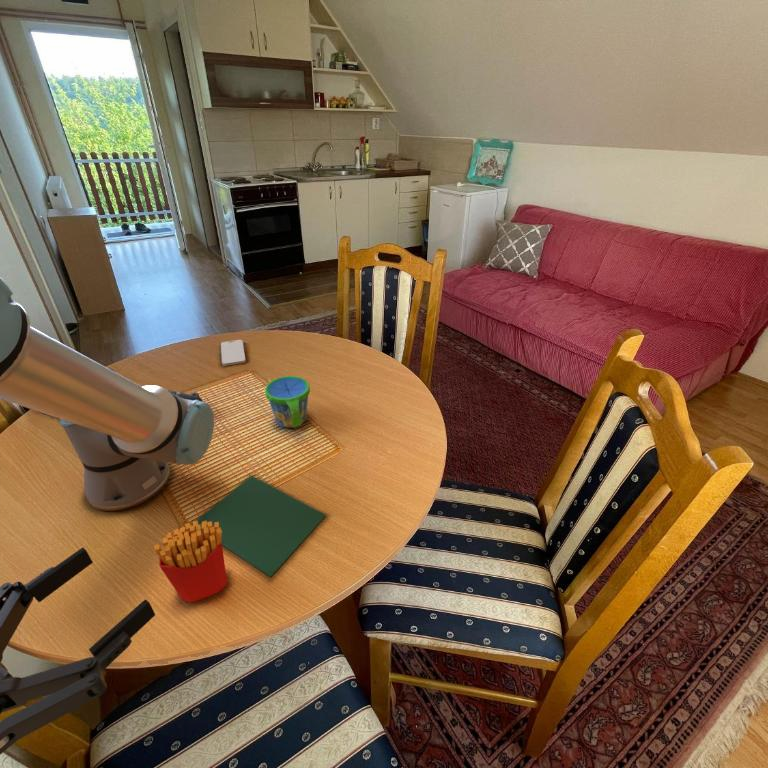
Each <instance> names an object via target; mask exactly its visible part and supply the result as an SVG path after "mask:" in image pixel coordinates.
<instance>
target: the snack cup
mask: <svg viewBox="0 0 768 768" xmlns="http://www.w3.org/2000/svg"><path fill="white" fill-rule="evenodd" d="M310 393H311V388H310V383H309V381H307V380H306V379H305V378H303V377H301V376H297V375H286V376H279V377H277V378H275V379H272V380H271V381H270V382H268V383H267V385H266V386H265V388H264V394H265V397H266V398H267V400H268V402H269V405H270V408H271V410H272V414H273V416H274V419H275V422H276V424H278V425H279V426H280V427H281V428H286V429H291V428H292V429H295V428H297V427H300V426H301V425H302V424H304V423H305V422H306V420H307V415H308V403H309V395H310Z"/></svg>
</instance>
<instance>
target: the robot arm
mask: <svg viewBox="0 0 768 768" xmlns="http://www.w3.org/2000/svg"><path fill="white" fill-rule="evenodd" d="M13 294H14V292H13V291H12V290H11V288H10V287H9V285H8V284H7V283H6V281H5V280H4V279H3V278H2V277H1V276H0V400H2V401H6V402H8V403H11V404H15V405H18V406H20V407H24V408H25V409H30V410H32V411H35V412H38V413H42V414H45V415H47V416H50V417H53V418H56V419H59V422H60V426H61V427H63V429H64V432H65V433H66V435H67V437H68V439H69V441H70V443H71V445H72V446H73V449H74V451H75V452H76V455H77V457H78V458H79V460H80V462H81V464H82V466H83V480H84V481H83V483H84V484H83V489H84V495H85V497H86V499H87V501H88V503H89V505H90V506H91V507H92V508H94V509H96V510H99V511H103V512H119V511H124V510H127V509H128V510H129V509H132V508H134V507H136V506H140V505H142V504H143V503H146V502H147V501H149V500H151V499H152V498H154V497H155V496H156V495H158V494H159V493H160V492H161V491H162V490H163V489H164V488H165V486H166V485H167V483H168V482H169V479H170V476H171V467H170V465H169V464H176V465H177V466H183V465H184V466H191V465H192V466H193V465H195V464H197V463H198V462H199V461H201V460H202V459H203V457H204V455H206V453H207V452H208V449H209V447H210V444H211V442H212V438H213V436H214V429H215V415H214V411H213V408H212V407H211V405H210V404H208V403H207V402H205V401H202V402H201V401H199V400H194V401H193V400H187V399H183V398H181V397H179V396H177V395H175V394H173V393H172V392H170V391H168V390H169V389H167V388H165V387H162V386H159V385H151V384H150V385H143V386H141V385H140V384H138V383H136V382H134V381H132V380H130V379H129V378H127V377H125V376H123V375H121V374H120V373H118V372H116V371H115V370H114V371H115V372H114V371H112V370H113V369H112V370H110V369H111V368H110V369H108V368H109V367H106V366H104V365H103V364H101V363H99V362H98V361H95V360H94V359H91V358H90V357H88V356H87V355H84V354H83V353H80V352H79V351H76V350H75V349H73V348H71V347H70V346H68V345H66V344H64V343H62V342H60V341H58V340H57V339H55V338H53V337H51V336H49V335H47V334H45V333H44V332H41V331H40V330H38V329H36V328H35V327H32V326H31V320H30V318H29V315H28V313H27V311H26V310H25V308H24V307H23V306H22V305H21V304H20V303H19V302H17V301H15V300H14V299H12V295H13ZM93 563H94V562H93V560H92V558H91V555H90V554H89V553H88V551H87V549H85V547H81V548H80V549H78V550H77V551H75V552H74V553H72V554H71V555H70V556H68V557H67V558H65V559H64V560H62V561H61V562H60V563H58V564H56V566H51V567H49V568H47V569H45V570H44V571H43V572H41V573H40V574H39V575H37V576H36V577H34V578H33V579H32V580H30V581H28V582H27V583H25V584H24V583H23V582H22V581H15V582H13V583H12V582H9V581H8V582H5V583H3V584H1V585H0V715H1V714H2V713H5V712H9V711H11V710H15V709H17V708H21V707H23V706H25V705H27V704H28V702H30V701H34V700H37V699H39V700H38V701H36V702H34V703H31V704H30V705H28V706H26V707H24V708H22V709H20V710H17V711H16V712H14V713H12V714H10V715H8V716H7V717H5V718H4V719H2V720H0V756H1V755H2V754H3V753H4V752H6V751H7V750H8V749H9V748H10V747H12V746H13V745H14V744H15V743H16V742H17V741H20V740H21V739H23V738H25V737H26V736H28V735H30V734H32V733H34V732H36V731H39V729H41V728H44V727H45V726H47V725H49V724H51V723H53V722H54V721H56V720H58V719H60V718H61V717H64V716H65V715H67V714H69V713H71V712H73V711H75V710H76V709H78V708H80V707H82V706H84V705H86V704H87V703H90V702H91V701H93V700H95V699H97V698H99V697H100V696H102V695H104V694H105V693H106V691H107V689H108V685H107V683H106V679H105V678H106V677H107V672H106V669H107V668H108V667H109V666H110V665H111V664H112V663H113V662H115V660H116V659H118V657H119V656H121V654H123V653H124V651H126V650H127V649H128V648H130V645H131V644H132V642H133V641H132V638H133V637H134V636H135V634H137V633H138V632H139V631H140V630H141V629H142V628H144V627H145V625H146V624H148V623H149V622H150V621H151V620H152V619H153V618H154V617H155V616H156V613H155V611H154V608H153V607H152V604H151V603H150V601H148V600H147V599H146V598H145V599H144V600H143V601H141V602H140V603H139V604H138V605H137V606H135V607H134V609H133V610H131V611H129V613H128V614H127V615H126V616H125V617H123V618H122V619H121V620H120V621H119V622H118V623H116V624H115V625H114V626H113V627H112V628H111V629H109V631H107V632H106V633H105V634H104V635H103V636H102V637H101V638H100V639H98V640H97V641H96V642H95V643H94V644H92V645H91V647H90V648H89V649H88V651H89V652H90V653H91V655H92V656H90V657H86V658H82V659H79V660H76V661H73V662H70V663H66V664H63V665H60V666H55V667H53V668H50V669H47V670H43V671H39V672H37V673H33V674H30V675H27V676H23V677H20V676H13V675H12V674H11V673H10V672H9V671H8V668H7V667H6V665H4V664H3V663H2V661H3V658H4V653H5V650H6V648H7V646H8V645H9V643H10V642H11V640H12V638H13V636H14V635H15V633H16V630H17V629H18V627H19V625H20V623H21V622H22V620H23V619H24V616H25V615H26V613H27V611H28V610H29V608H30V606H31V604H32V603H33V601H34V599H35V600H36V601H37V602H38V603H41V602H42V601H43V600H45V599H47V597H49V596H50V595H52V594H53V593H54V592H56V591H57V590H58V589H60V588H61V587H62V586H64V585H65V584H66V583H68V582H69V581H71V580H72V579H73V578H74V577H76V576H77V575H78V574H80V573H81V572H82V571H84V570H86V569H87V568H88V567H89V566H91V565H92V564H93ZM40 698H41V699H40Z"/></svg>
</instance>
